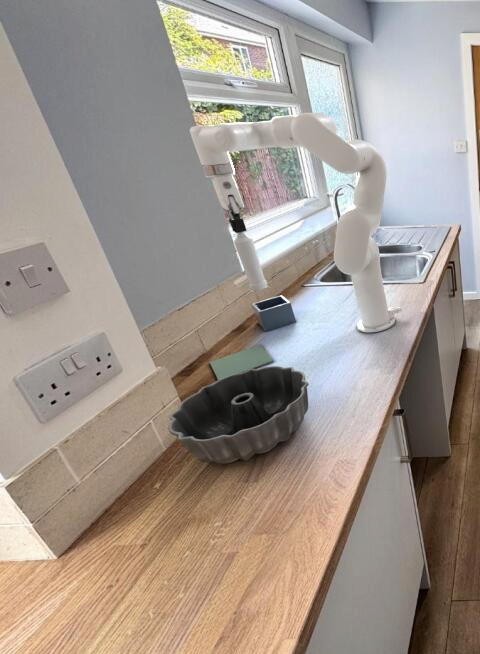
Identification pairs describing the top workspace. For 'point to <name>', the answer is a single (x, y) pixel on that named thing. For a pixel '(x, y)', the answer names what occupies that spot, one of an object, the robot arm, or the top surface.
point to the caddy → (274, 312)
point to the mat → (240, 362)
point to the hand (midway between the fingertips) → (239, 230)
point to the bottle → (250, 261)
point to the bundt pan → (241, 414)
